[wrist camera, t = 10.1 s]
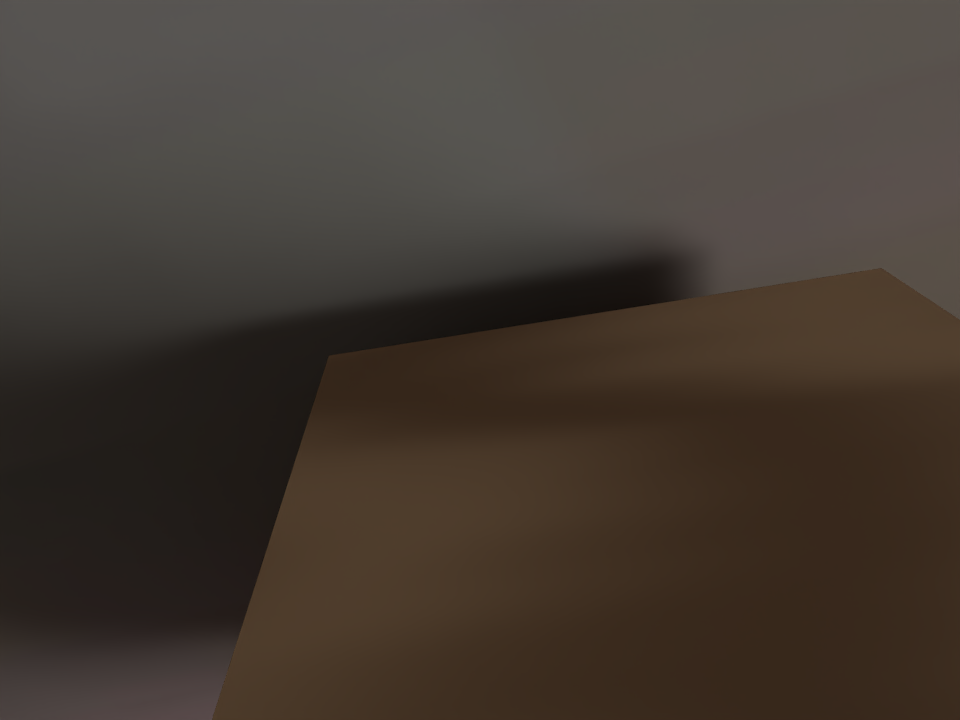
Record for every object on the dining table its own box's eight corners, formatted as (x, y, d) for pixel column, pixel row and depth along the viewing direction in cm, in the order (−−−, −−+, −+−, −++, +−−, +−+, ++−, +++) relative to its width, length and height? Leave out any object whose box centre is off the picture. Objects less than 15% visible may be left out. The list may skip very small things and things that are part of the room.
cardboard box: (431, 706, 11) (418, 1221, 6) (328, 355, 8) (171, 845, 3) (835, 650, 10) (1123, 1146, 6) (880, 267, 8) (1490, 670, 3)
